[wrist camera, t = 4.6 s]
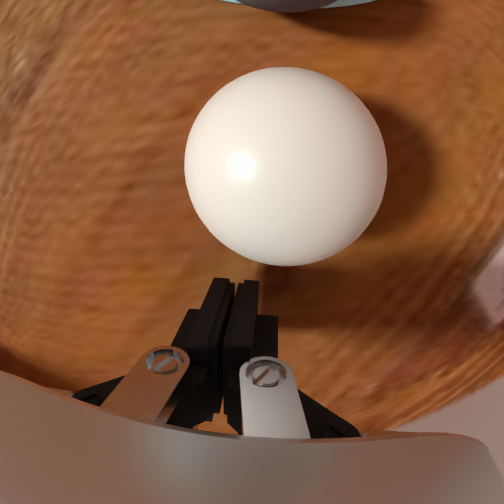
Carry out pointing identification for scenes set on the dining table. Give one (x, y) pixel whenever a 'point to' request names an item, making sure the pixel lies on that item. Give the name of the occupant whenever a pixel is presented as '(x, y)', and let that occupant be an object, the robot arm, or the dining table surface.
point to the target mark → (342, 2)
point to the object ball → (287, 5)
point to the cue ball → (285, 166)
